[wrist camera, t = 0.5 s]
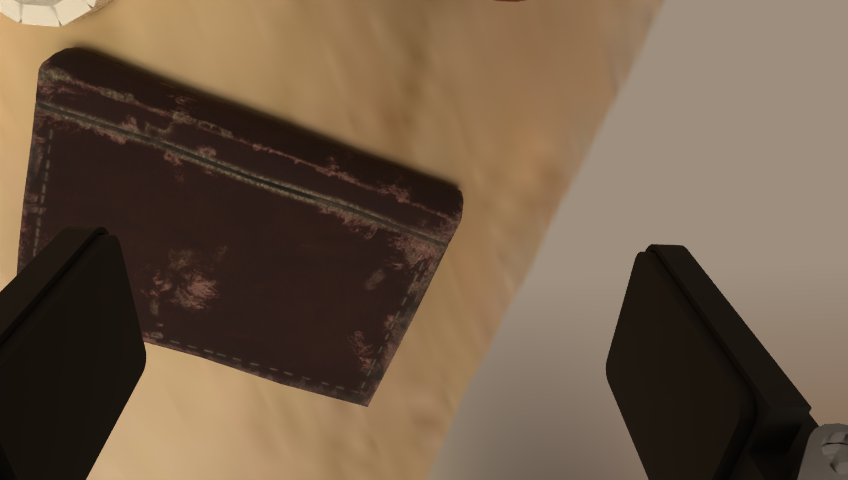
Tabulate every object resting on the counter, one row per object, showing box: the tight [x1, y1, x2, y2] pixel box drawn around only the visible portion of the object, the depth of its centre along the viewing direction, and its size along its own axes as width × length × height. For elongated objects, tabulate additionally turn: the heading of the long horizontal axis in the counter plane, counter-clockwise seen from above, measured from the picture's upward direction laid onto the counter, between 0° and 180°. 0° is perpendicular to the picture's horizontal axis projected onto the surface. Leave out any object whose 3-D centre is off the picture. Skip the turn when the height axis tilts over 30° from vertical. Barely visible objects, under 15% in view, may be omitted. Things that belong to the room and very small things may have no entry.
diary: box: [17, 48, 463, 407], centre depth 40 cm, size 19×25×5 cm
